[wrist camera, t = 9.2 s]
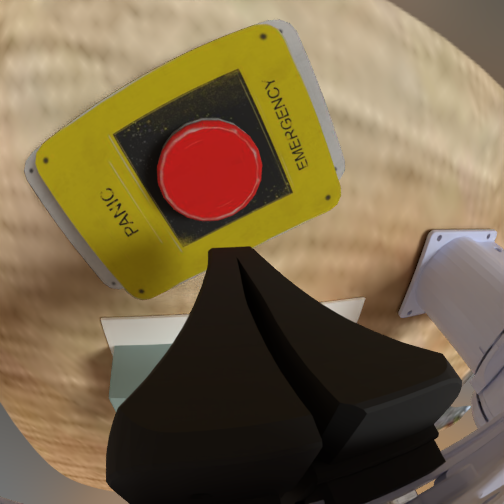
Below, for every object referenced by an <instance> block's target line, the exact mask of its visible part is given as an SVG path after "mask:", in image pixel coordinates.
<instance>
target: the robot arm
mask: <svg viewBox="0 0 504 504" xmlns="http://www.w3.org/2000/svg"><path fill="white" fill-rule="evenodd" d="M496 235H497V232H496V231H495V230H494V229H463V230H432V231H430V232H429V234H428V236H427V239H426V242H425V245H424V248H423V251H422V254H421V256H420V259H419V262H418V265H417V268H416V270H415V273H414V276H413V278H412V281H411V283H410V286H409V288H408V291H407V293H406V296H405V298H404V301H403V303H402V305H401V308H400V310H399V313H398V314H399V316H400V317H401V318H406V317H410V316H415V315H419V314H423V313H426V314H427V315H428V316H429V317H430V319H431V320H432V321H433V322H434V323H435V325H436V326H437V327H438V328H439V330H440V331H441V332H442V333H443V335H444V336H445V337H446V338H447V340H448V341H449V342H450V343H451V345H452V346H453V347H454V348H455V350H456V351H457V352H458V354H459V355H460V356H461V357H462V359H463V360H464V361H465V363H466V364H467V365H468V367H469V368H470V369H471V371H472V372H473V373H474V375H475V376H474V377H473V378H472V380H471V381H470V384H471V385H472V387H473V388H474V392H473V394H472V397H471V404H472V415H473V418H474V421H475V424H476V426H477V428H478V429H477V430H475V431H474V432H472V433H471V434H469V435H467V436H466V437H464V438H463V439H461V440H460V441H458V442H456V443H454V444H452V445H451V446H449V447H447V448H446V449H444V450H442V451H440V450H439V448H438V446H437V444H436V442H435V441H434V439H436V438H437V437H438V435H439V433H438V431H437V429H436V428H435V426H434V423H435V422H436V421H437V420H438V419H439V418H440V417H441V416H442V415H443V414H444V412H445V411H446V410H447V409H448V408H449V407H450V406H451V404H452V403H453V402H454V400H455V399H456V398H457V397H458V395H459V393H460V390H461V387H462V380H461V379H460V377H459V376H458V374H457V373H456V372H455V370H454V369H453V367H452V366H451V365H450V363H449V362H448V361H447V359H446V358H445V356H444V355H443V354H441V353H438V352H434V351H430V350H427V349H423V348H420V347H416V346H413V345H409V344H406V343H403V342H400V341H398V340H395V339H392V338H389V337H387V336H384V335H382V334H379V333H377V332H374V331H372V330H370V329H368V328H365V327H363V326H361V325H359V324H357V323H355V322H353V321H351V320H349V319H347V318H345V317H343V316H342V315H340V314H338V313H336V312H334V311H333V310H331V309H330V308H328V307H326V306H325V305H323V304H321V303H320V302H318V301H317V300H315V299H314V298H312V297H311V296H309V295H308V294H306V293H305V292H304V291H302V290H301V289H300V288H298V287H297V286H296V285H294V284H293V283H292V282H291V281H289V280H288V279H287V278H286V277H284V276H283V275H282V274H281V273H280V272H278V271H277V270H276V269H275V268H274V267H273V266H272V265H270V264H269V263H268V262H267V261H266V260H265V259H264V258H263V257H262V256H260V255H259V254H258V253H257V252H256V251H255V250H254V249H253V248H252V247H250V246H245V247H222V248H211V249H210V250H209V251H208V265H207V270H206V274H205V277H204V280H203V284H202V287H201V289H200V292H199V294H198V297H197V299H196V301H195V304H194V306H193V308H192V310H191V312H190V314H189V316H188V318H187V320H186V322H185V324H184V325H183V327H182V329H181V331H180V332H179V334H178V335H177V337H176V339H175V340H174V342H173V343H172V345H171V346H170V348H169V349H168V351H167V352H166V353H165V355H164V356H163V357H162V359H161V360H160V361H159V362H158V364H157V365H156V366H155V368H154V369H153V370H152V371H151V373H150V374H149V375H148V376H147V378H146V379H145V380H144V381H143V382H142V383H141V384H140V385H139V386H138V387H137V388H136V389H135V390H134V392H133V393H132V394H131V395H130V396H129V397H128V398H127V399H126V400H125V401H124V402H123V403H122V404H121V405H120V406H119V407H118V409H117V411H116V414H115V417H114V420H113V424H112V427H111V431H110V435H109V440H108V446H107V453H106V482H107V483H108V485H109V486H110V487H111V488H112V489H113V490H114V491H115V492H116V493H117V494H118V495H120V496H121V497H122V498H123V499H125V500H126V501H127V502H128V503H129V504H387V503H389V502H391V501H393V500H395V499H398V498H400V497H402V496H404V495H406V494H408V493H410V492H412V491H414V490H416V489H418V488H420V487H422V486H423V485H425V484H427V483H429V482H431V481H433V480H434V479H436V480H435V482H434V486H433V487H431V488H430V489H428V490H426V491H425V492H423V493H421V494H419V495H418V496H416V497H415V498H413V499H412V500H410V501H408V502H407V503H405V504H504V249H503V248H501V247H500V246H499V245H498V244H496V243H495V242H494V241H495V238H496ZM0 504H22V503H19V502H16V501H12V500H9V499H6V498H3V497H0Z"/></svg>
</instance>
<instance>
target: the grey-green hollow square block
mask: <svg viewBox="0 0 504 504" xmlns="http://www.w3.org/2000/svg"><path fill="white" fill-rule="evenodd" d="M171 345H172V344H154V345H120V346H114V354H113V362H112V370H111V380H110V390H109V399H110V401H111V403H112V405H113V407H114V409H115V411H117V409H118V407H119V406H120V405H121V404H122V403H123V402H124V401H125V400H126V399H127V398H128V397H129V396H130V395H131V394H132V393H133V392H134V390H135V389H136V388H137V387H138V386H139V385H140V384H141V383H142V382H143V381H144V380H145V379H146V378H147V376H148V375H149V374H150V373H151V371H152V370H153V369H154V368H155V366H156V365H157V364H158V362H159V361H160V360H161V359H162V357H163V356H164V355H165V353H166V352H167V351H168V349H169V348H170V346H171Z"/></svg>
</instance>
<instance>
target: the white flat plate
mask: <svg viewBox="0 0 504 504" xmlns="http://www.w3.org/2000/svg"><path fill="white" fill-rule="evenodd" d="M364 301H365V297H359V298H351V299H344V300H336V301H328V302H320V303H321V304H323V305H325V306H326V307H328V308H330V309H331V310H333V311H334V312H336V313H338V314H340V315H342V316H343V317H345V318H347V319H349V320H351V321H353V322H355V323H357V321H358V318H359V315H360V313H361V310H362V307H363V304H364ZM188 316H189V314H182V315H164V316H141V317H110V318H101V323H102V326H103V329H104V332H105V335H106V338H107V341H108V344H109V347H110V350H111V353H112V355H113V354H114V346H120V345H154V344H172V343H173V342H174V340H175V339H176V337H177V335H178V334H179V332H180V331H181V329H182V327H183V325H184V324H185V322H186V320H187V318H188Z"/></svg>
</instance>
